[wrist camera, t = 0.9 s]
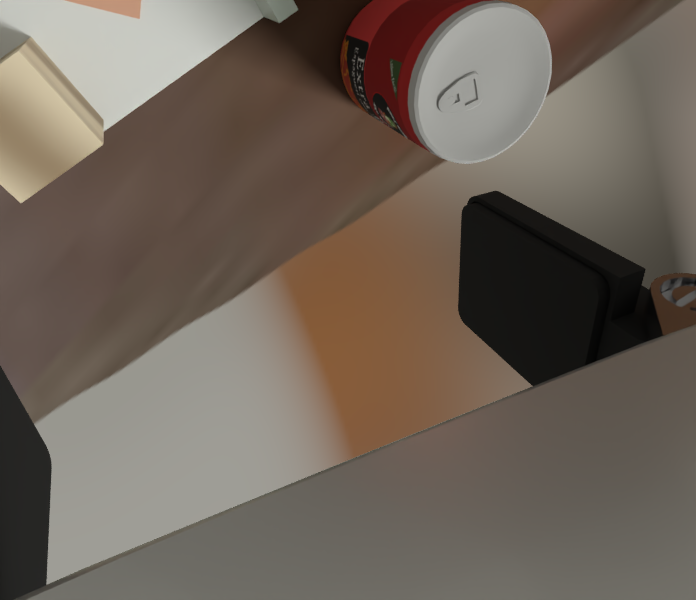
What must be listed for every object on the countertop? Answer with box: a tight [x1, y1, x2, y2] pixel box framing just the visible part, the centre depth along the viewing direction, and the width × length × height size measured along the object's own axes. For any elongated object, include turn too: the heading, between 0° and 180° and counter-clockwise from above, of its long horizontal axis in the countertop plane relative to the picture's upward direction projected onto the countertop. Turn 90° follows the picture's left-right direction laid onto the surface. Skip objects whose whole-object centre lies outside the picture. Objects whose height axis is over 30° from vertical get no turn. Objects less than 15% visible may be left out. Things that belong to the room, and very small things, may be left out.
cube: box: [0, 37, 104, 203], centre depth 27 cm, size 5×5×5 cm
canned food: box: [340, 0, 552, 164], centre depth 31 cm, size 8×8×11 cm
